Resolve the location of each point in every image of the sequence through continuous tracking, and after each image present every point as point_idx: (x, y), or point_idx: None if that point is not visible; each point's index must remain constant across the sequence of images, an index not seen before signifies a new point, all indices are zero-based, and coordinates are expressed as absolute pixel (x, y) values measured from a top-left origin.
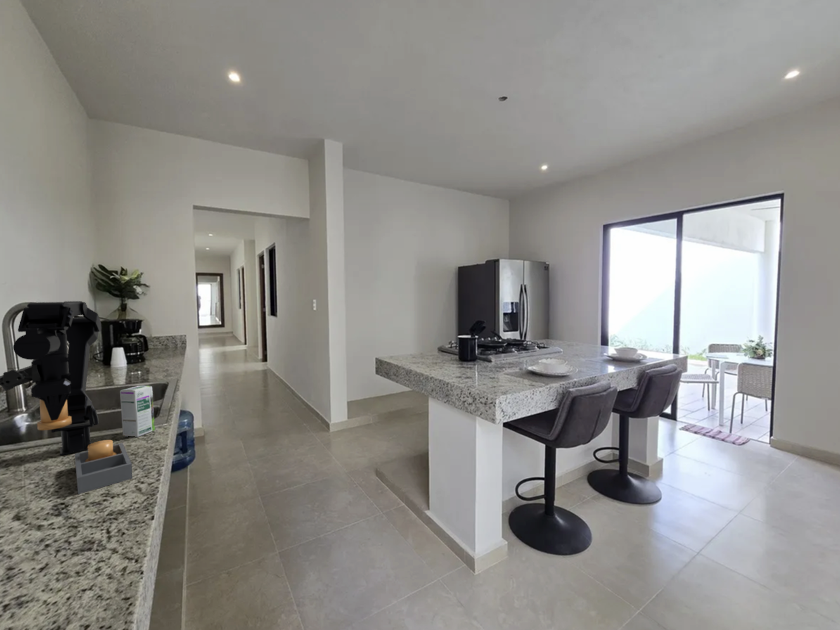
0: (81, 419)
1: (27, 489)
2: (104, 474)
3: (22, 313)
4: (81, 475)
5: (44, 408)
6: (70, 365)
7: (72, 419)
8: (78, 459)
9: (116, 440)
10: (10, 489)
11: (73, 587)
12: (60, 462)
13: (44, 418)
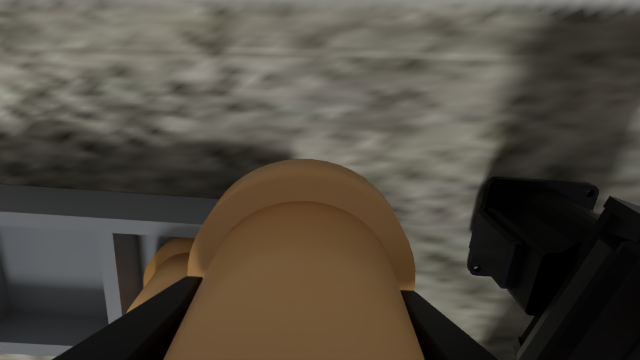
0: (521, 354)
1: (168, 59)
2: None
3: None
4: None
5: (183, 331)
6: None
7: (547, 325)
8: (176, 232)
9: (493, 336)
10: (221, 9)
11: None
12: (403, 169)
13: (226, 246)
